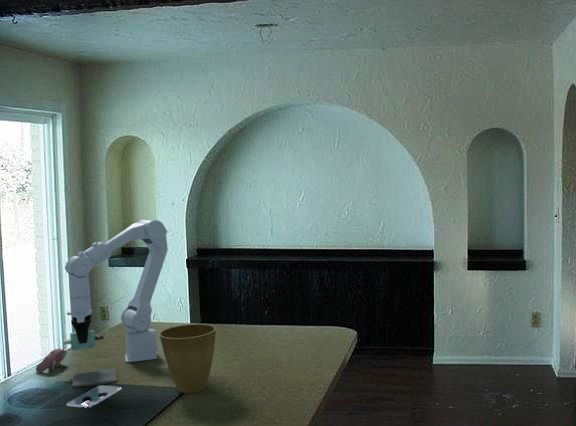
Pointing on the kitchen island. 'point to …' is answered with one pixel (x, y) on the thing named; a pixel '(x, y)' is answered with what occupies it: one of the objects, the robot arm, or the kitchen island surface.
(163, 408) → the kitchen island surface
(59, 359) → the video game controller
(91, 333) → the plug
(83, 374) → the pad
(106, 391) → the mobile phone
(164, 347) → the plant pot
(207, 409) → the kitchen island surface
